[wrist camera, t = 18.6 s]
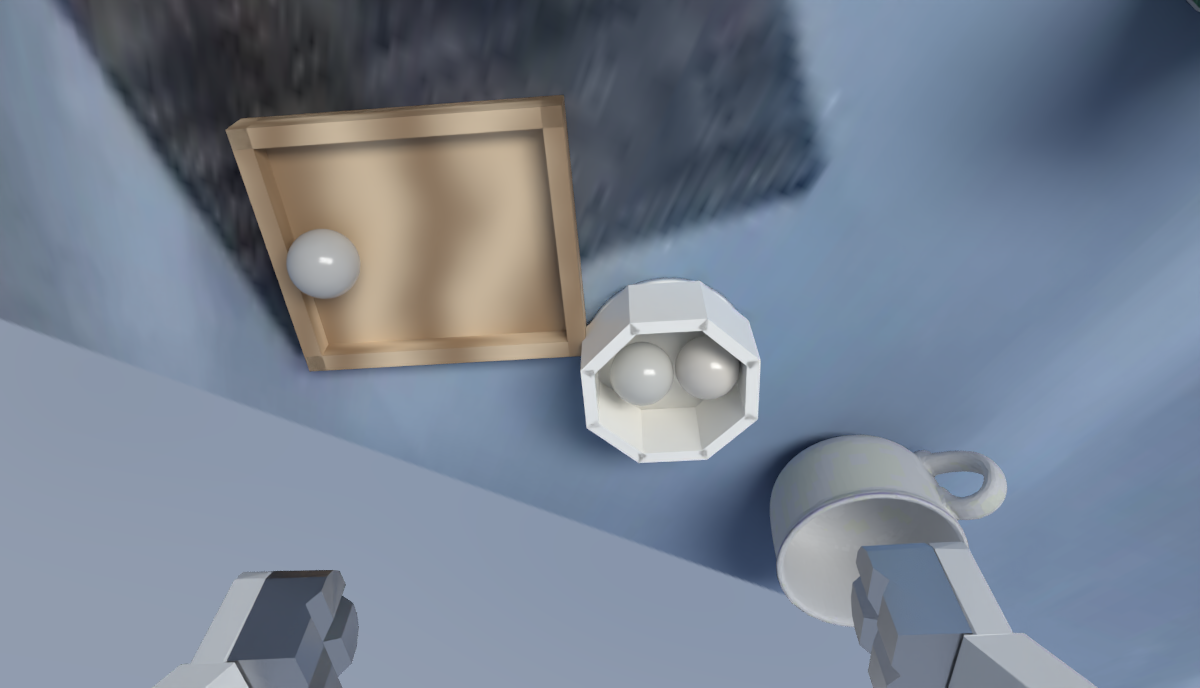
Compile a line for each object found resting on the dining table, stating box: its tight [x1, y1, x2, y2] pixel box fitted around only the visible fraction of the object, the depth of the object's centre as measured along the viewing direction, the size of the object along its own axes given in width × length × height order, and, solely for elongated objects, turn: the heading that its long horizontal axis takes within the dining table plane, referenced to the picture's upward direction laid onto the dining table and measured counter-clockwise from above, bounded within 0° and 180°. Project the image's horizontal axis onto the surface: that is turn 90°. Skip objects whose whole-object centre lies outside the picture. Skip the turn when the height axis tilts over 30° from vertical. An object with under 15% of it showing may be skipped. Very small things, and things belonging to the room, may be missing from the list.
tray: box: [226, 95, 587, 371], centre depth 40 cm, size 16×14×2 cm
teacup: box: [770, 435, 1007, 627], centre depth 46 cm, size 14×11×8 cm
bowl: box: [580, 278, 761, 463], centre depth 42 cm, size 9×9×5 cm
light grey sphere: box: [610, 342, 674, 406], centre depth 42 cm, size 4×4×4 cm
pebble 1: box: [286, 229, 361, 299], centre depth 39 cm, size 4×4×4 cm
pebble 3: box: [675, 335, 740, 400], centre depth 42 cm, size 4×4×4 cm
